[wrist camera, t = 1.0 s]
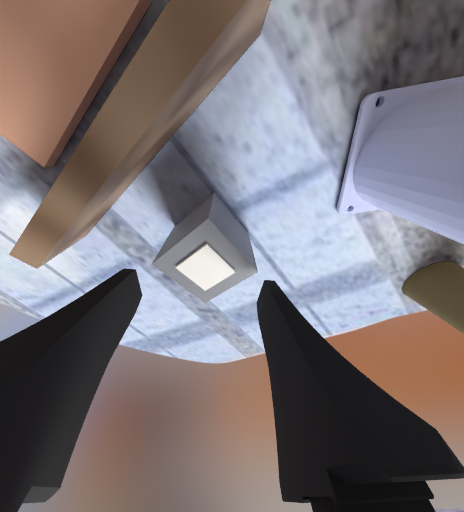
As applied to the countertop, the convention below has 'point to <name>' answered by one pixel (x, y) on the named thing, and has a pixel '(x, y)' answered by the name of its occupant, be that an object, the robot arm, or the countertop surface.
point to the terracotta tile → (57, 66)
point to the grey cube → (207, 251)
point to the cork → (439, 291)
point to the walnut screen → (141, 116)
